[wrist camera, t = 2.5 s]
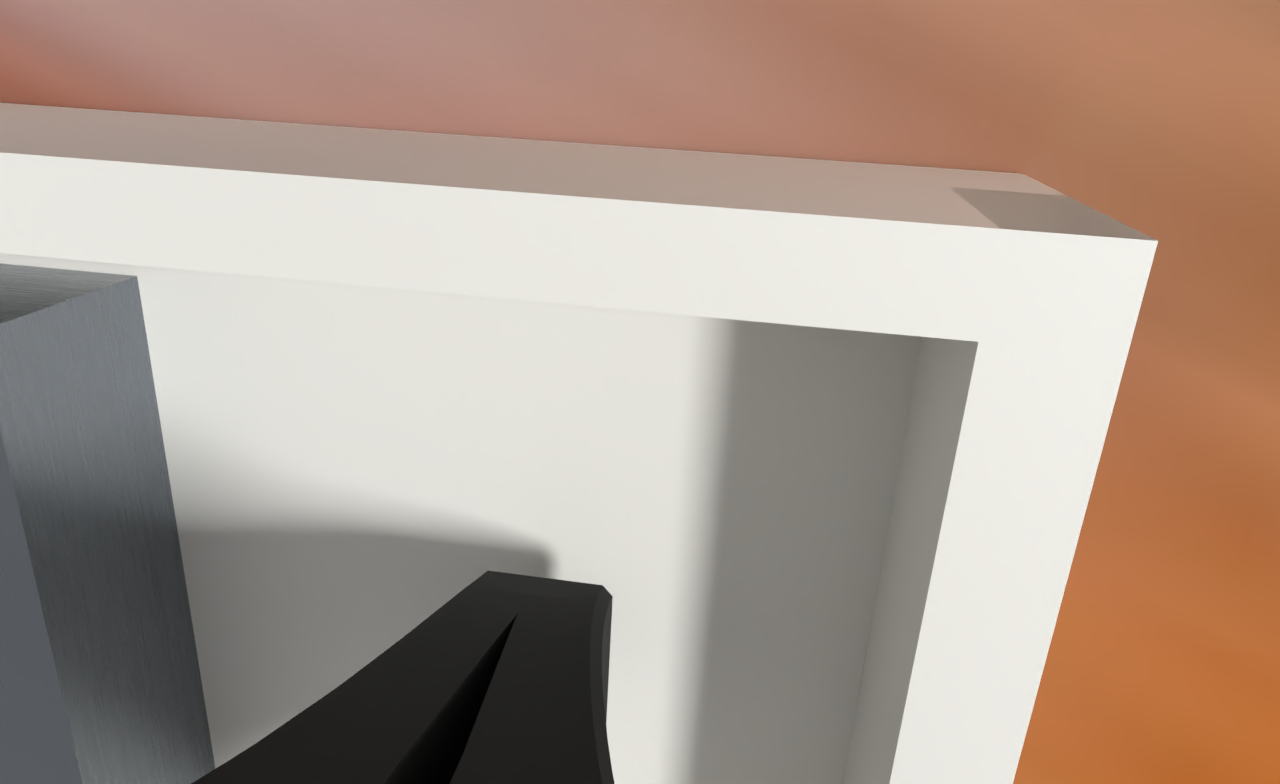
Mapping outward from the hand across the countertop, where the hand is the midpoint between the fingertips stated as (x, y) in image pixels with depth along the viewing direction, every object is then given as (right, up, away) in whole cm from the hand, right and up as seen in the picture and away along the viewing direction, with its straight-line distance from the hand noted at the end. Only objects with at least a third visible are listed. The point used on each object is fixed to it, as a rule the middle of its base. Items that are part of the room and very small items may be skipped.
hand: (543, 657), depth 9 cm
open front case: (-4, +1, +3) cm, 5 cm away
